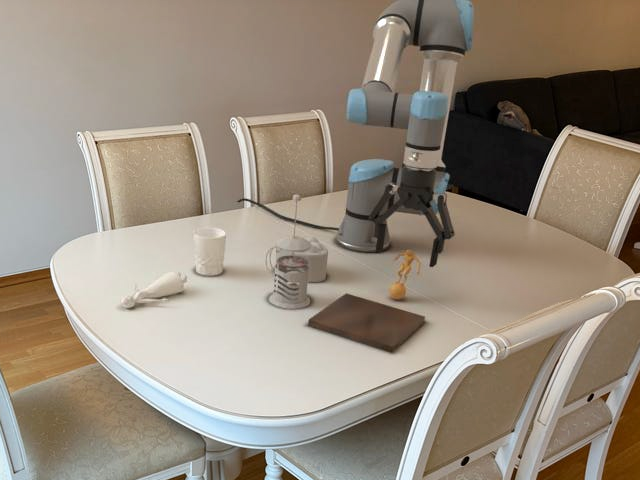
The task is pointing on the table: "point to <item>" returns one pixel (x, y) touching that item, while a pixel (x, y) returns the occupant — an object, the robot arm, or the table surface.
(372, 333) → the walnut board
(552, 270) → the table surface
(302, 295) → the french press
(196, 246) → the white cup
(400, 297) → the figurine
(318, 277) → the lumpy-topped squat cylinder
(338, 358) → the table surface
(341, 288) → the table surface
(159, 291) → the woman figurine
